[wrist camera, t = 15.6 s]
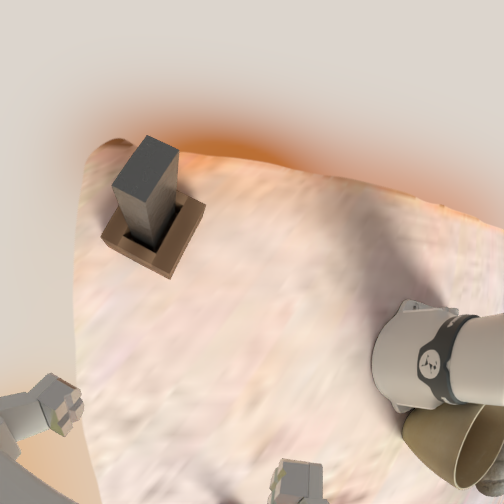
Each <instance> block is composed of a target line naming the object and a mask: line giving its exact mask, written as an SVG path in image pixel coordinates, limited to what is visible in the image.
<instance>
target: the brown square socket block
mask: <svg viewBox="0 0 504 504" xmlns="http://www.w3.org/2000/svg"><path fill="white" fill-rule="evenodd" d="M205 207H206V205H205V204H203V203H201V202H199V201H197V200H195V199H193V198H191V197H189V196H187V195H185V194H183V193H181V192H179V191H177V190H176V204H175V218H174V220H173V222H172V224H171V226H170V227H169V229H168V231H167V233H166V235H165V236H164V238H163V240H162V242H161V244H160V246H159V248H158V249H157V251H156V253H155V252H153V251H151V250H149V249H147V248H145V247H144V246H142V245H140V244H138V243H136V242H134V239H133V237H132V235H131V232H130V230H129V228H128V225H127V223H126V221H125V218H124V216H123V213H122V211H121V208H120V206H118V208H117V209H116V211H115V213H114V214H113V216H112V218H111V219H110V221H109V223H108V224H107V226H106V228H105V230H104V231H103V233H102V235H101V238H102V239H103V241H104V242H105V243H106V245H107V246H108V247H110V248H112V249H113V250H115V251H117V252H119V253H121V254H122V255H124V256H126V257H128V258H130V259H132V260H134V261H135V262H137V263H139V264H141V265H143V266H145V267H147V268H148V269H150V270H152V271H154V272H156V273H158V274H160V275H162V276H164V277H166V278H168V279H171V277H172V275H173V273H174V271H175V269H176V267H177V265H178V263H179V261H180V259H181V257H182V255H183V253H184V251H185V249H186V247H187V245H188V243H189V242H190V240H191V238H192V236H193V234H194V232H195V230H196V228H197V226H198V225H199V223H200V221H201V219H202V217H203V213H204V210H205Z"/></svg>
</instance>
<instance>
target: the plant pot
mask: <svg viewBox="0 0 504 504" xmlns="http://www.w3.org/2000/svg"><path fill="white" fill-rule="evenodd" d="M402 435H403V439H404V441H405V443H406V444H407V445H408V447H409V448H410V449H411V450H412V451H413V453H414V454H415V455H416V456H417V457H418V458H419V459H420V460H421V461H422V462H423V463H424V464H425V465H426V466H427V467H428V468H429V469H431V470H432V471H433V472H434V473H435V474H437V475H438V476H439V477H441V478H442V479H444V480H445V481H447V482H448V483H450V484H451V485H453V486H454V487H456V488H458V489H459V490H465V489H468V488H470V487H472V486H473V485H475V484H476V483H477V482H478V481H479V480H481V478H482V477H483V476H484V475H485V474H486V473H487V472H488V470H489V469H490V468H491V466H492V465H493V463H494V461H495V460H496V458H497V456H498V454H499V452H500V450H501V448H502V445H503V443H504V406H494V405H485V404H477V403H467V404H464V405H461V404H458V405H453V404H448V403H445V402H444V403H443V404H441V405H440V406H438V407H436V408H435V409H433V410H430V409H422V408H416V409H414V410H413V411H412V412H411V413H410V414H409V416H408V417H407V419H406V421H405V423H404V426H403V431H402Z"/></svg>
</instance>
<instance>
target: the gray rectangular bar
mask: <svg viewBox="0 0 504 504" xmlns="http://www.w3.org/2000/svg"><path fill="white" fill-rule="evenodd" d="M178 161H179V150H178V149H176V148H174V147H172V146H170V145H168V144H165V143H163V142H161V141H159V140H157V139H154V138H152V137H150V136H148V135H147V136H146V137H145V139H144V140H143V141H142V143H141V144H140V145H139V147H138V148H137V149H136V151H135V152H134V153H133V155H132V156H131V158H130V159H129V160H128V162H127V163H126V165H125V166H124V168H123V169H122V171H121V172H120V173H119V175H118V176H117V178H116V179H115V181H114V182H113V184H112V188H113V191H114V193H115V196H116V198H117V201H118V203H119V206H120V208H121V211H122V213H123V216H124V218H125V221H126V223H127V225H128V228H129V230H130V232H131V235H132V237H133V239H134V242H136V243H138V244H140V245H142V246H144V247H145V248H147V249H149V250H151V251H153V252H155V253H156V251H157V249H158V248H159V246H160V244H161V242H162V240H163V238H164V236H165V235H166V233H167V231H168V229H169V227H170V226H171V224H172V222H173V220H174V218H175V204H176V187H177V173H178Z"/></svg>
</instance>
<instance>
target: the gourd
mask: <svg viewBox="0 0 504 504" xmlns="http://www.w3.org/2000/svg"><path fill="white" fill-rule="evenodd" d="M475 485H476V488H477V489H478V491H479V492H480V493H482V494H484V495H486V496H490V497H497V496H501V495H503V494H504V443H503V445H502V448H501V450H500V452H499V454H498V456H497V458H496V460H495V461H494V463H493V465H492V466H491V468H490V469H489V470H488V472H487V473H486V474H485V475H484V476H483V477H482V478H481V480H479V481H478V482H477V483H476V484H475Z"/></svg>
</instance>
